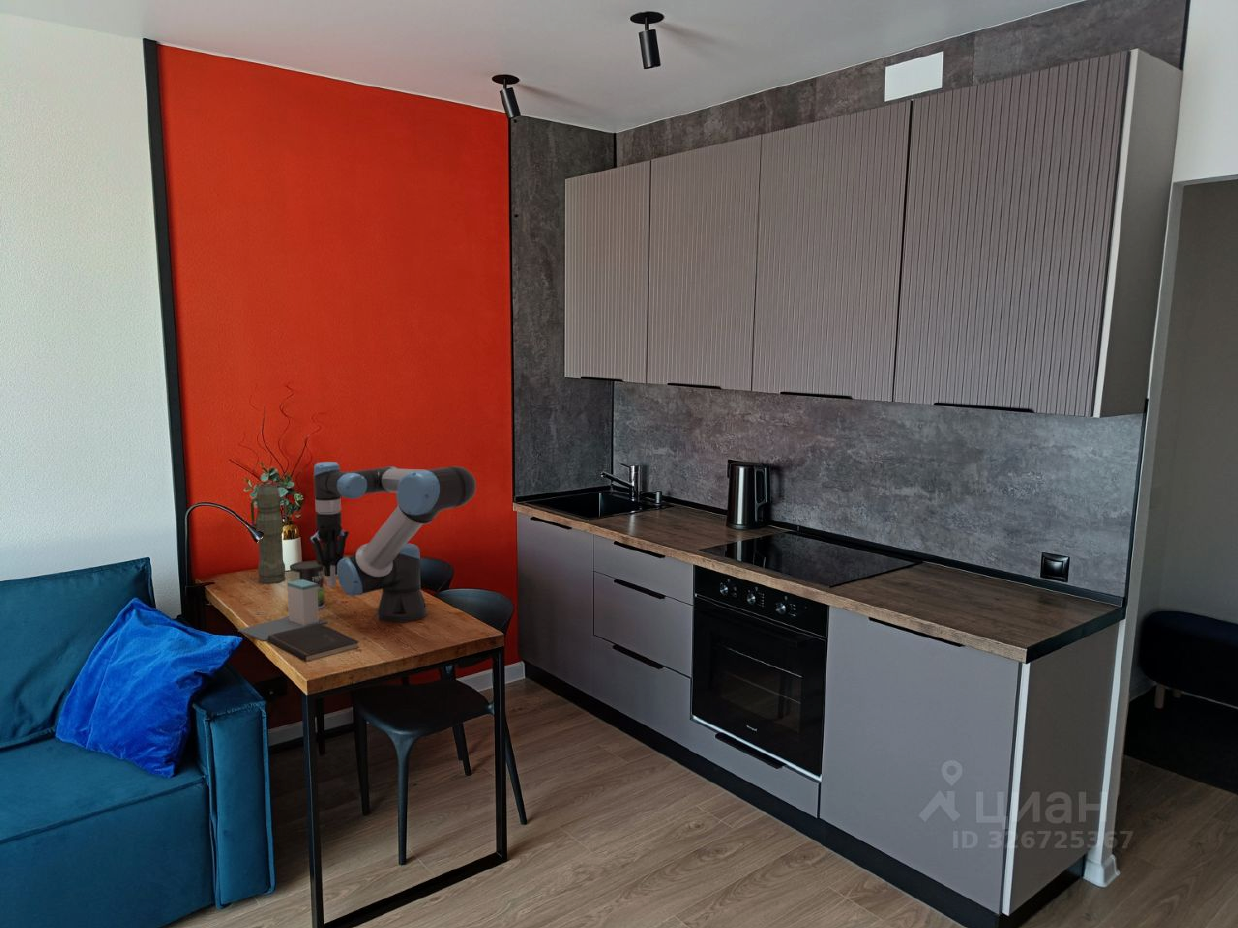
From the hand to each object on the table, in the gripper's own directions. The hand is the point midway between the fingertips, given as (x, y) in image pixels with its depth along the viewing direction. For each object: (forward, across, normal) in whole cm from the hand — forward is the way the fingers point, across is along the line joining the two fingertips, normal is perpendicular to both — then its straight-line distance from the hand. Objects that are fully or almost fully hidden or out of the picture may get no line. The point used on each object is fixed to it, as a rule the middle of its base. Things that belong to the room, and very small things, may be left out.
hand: (331, 585), depth 268 cm
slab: (+9, +10, 0) cm, 13 cm away
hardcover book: (+10, +20, +19) cm, 29 cm away
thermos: (+10, -10, -51) cm, 53 cm away
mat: (+9, +16, -1) cm, 19 cm away
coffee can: (+10, 0, -13) cm, 16 cm away
